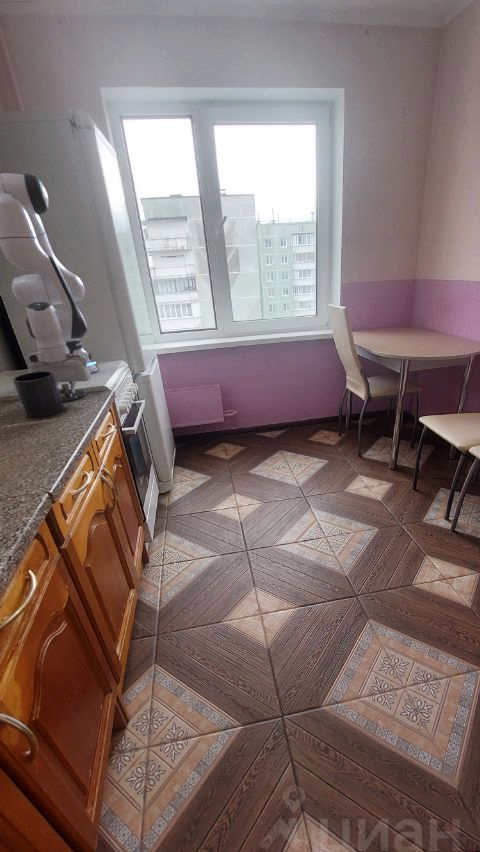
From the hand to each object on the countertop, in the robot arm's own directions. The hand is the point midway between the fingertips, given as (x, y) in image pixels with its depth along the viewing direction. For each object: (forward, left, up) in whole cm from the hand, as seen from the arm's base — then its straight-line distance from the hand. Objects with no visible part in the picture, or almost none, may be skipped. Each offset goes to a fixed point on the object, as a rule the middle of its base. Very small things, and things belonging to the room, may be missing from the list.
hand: (67, 393), depth 139 cm
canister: (+14, -5, -2) cm, 15 cm away
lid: (0, 0, -1) cm, 1 cm away
